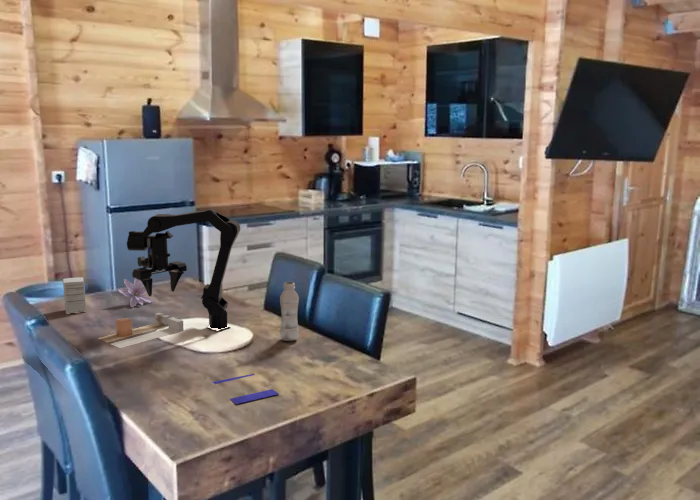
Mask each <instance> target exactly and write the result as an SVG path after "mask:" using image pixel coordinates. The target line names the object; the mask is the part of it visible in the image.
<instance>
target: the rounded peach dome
mask: <svg viewBox="0 0 700 500" xmlns="http://www.w3.org/2000/svg"><path fill="white" fill-rule="evenodd" d="M132 329H133V323H132V319H131V318H129V317H126V318H125V317H124V318H123V317H122V318H119V319H115V330H116V331H115V332H116V333H117V336H118V337H126V338H128V337H127V336H130V335H132ZM116 333H115V334H116ZM130 337H131V336H130Z"/></svg>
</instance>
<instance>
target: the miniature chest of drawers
mask: <svg viewBox="0 0 700 500" xmlns="http://www.w3.org/2000/svg"><path fill="white" fill-rule="evenodd" d="M62 285H63V286H62V287H63V298H64V308H65V309H64V310H65V314H66V313H74V312H84V311H86V312H87V304H86V303H87V302H86V289H85V280H84V277H83V276H78V277H67V278H63V279H62Z"/></svg>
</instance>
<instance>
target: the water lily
mask: <svg viewBox="0 0 700 500" xmlns="http://www.w3.org/2000/svg"><path fill="white" fill-rule="evenodd" d="M123 282H124V285H125V286H126V288H123V287H122V288H118V290H117V291H118V292H119V293H120V294H123V295H124V297H126V298H130V302H129V305H130V308H131V307H132V306H135V307H136V306H137V303H138V304H140V305H142V306H143V305H144V302H146V303H151V302H154V300H153V299H152V298H151V297H150V296H147V295H146V294H148V293H147V291H146V289H145V287H143V288H142V286H143V283H142V282H141V281H140V280H138V279H136V278H134V281H133V283H132V282H131V281H129V280H128V279H125V278H124V279H123ZM153 288H154V287H153V286H152V289H153ZM154 303H155V302H154ZM151 304H152V303H151Z"/></svg>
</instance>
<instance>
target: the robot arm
mask: <svg viewBox="0 0 700 500" xmlns="http://www.w3.org/2000/svg"><path fill="white" fill-rule="evenodd" d="M205 222H208V223H209V224H211V225H212V226H213V227H214V228H215V229H216V230H217V231H219V232H220V234H219V235H220V236H219V241H220V242H219V243H220V245H219V250H218V254H217V258H216V260H215V265H214V269H213V273H212V277H211V280H210V284H209V283H206V285H204V287H203V291H202V296H201V297H200V299H201V303H202V305H203V307H204V308H205V309H206V310H207V312H208V326H209V325H210V327H211V328H218V329H221V328H225V327H227V325H228V311H227V307H228V305H229V302H228V301H227V300H225V298H223V281H224V278H225V274H226V271H227V267H228V262H229V259H230V255H231V251H232V248H233V246H234V244H235V242H236V240H237V238H238V236H239V234H240V232H241V225H240V223H239V222H238V221H236V220H233V219H230V218H228V217H227V216H225V215H223V214H221V213H219V212H218V211H217V210H216V209H214V208H208V209H204V210H198V211H192V212H187V213H180V214H171V213H160V214H159V213H156V214H155V215H153V216H151V217H150V218H149V219H148V220H147V226H146V227H145V229H144V230H143V231H136V230H130V231H128V236H127V240H126V247H127V250H128V251H129V252H130V251H134V252H135V251H138V252H139V251H142V252H143V251H144V252H145V251H147V250H148V249H150V253H149V252H148V257H146V258H145V256H144V255H143V256H139V257H137V265H138V267H139V268H134V269H133V271H132V273H131V274H132V275H131V277H132V278H134V279H135V278H136V279H138V280H140V281H141V282H142V283H143V284H142V286H144V287H143V288H145V289H146V291H147V293H146V294H147V295H148V296H147V297H149V298H151V297H152V295H153V288H152V287H153V278H152V275H157V274H161V273H165V272H168V274H169V276H170V277H169V278H170V280H169V281H170V289H171V290H170V291H171V292H175V290H176V287H177V286H178V283H179V281H180V279H181V277H182V275H183V274H185V272H187V271H188V264H186V263H185V262H182V261H178V260H177V261H172V262H171V261H170V262H169V257H171V253H169V248H168V239H172V238H173V237H174V234H172V233H171V232H170V231H169V229H171V228H175V227H179V226H185V225H186V226H187V225H192V224H198V223H205ZM164 231H165V232H164ZM153 233H155V235H152V234H153Z"/></svg>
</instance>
